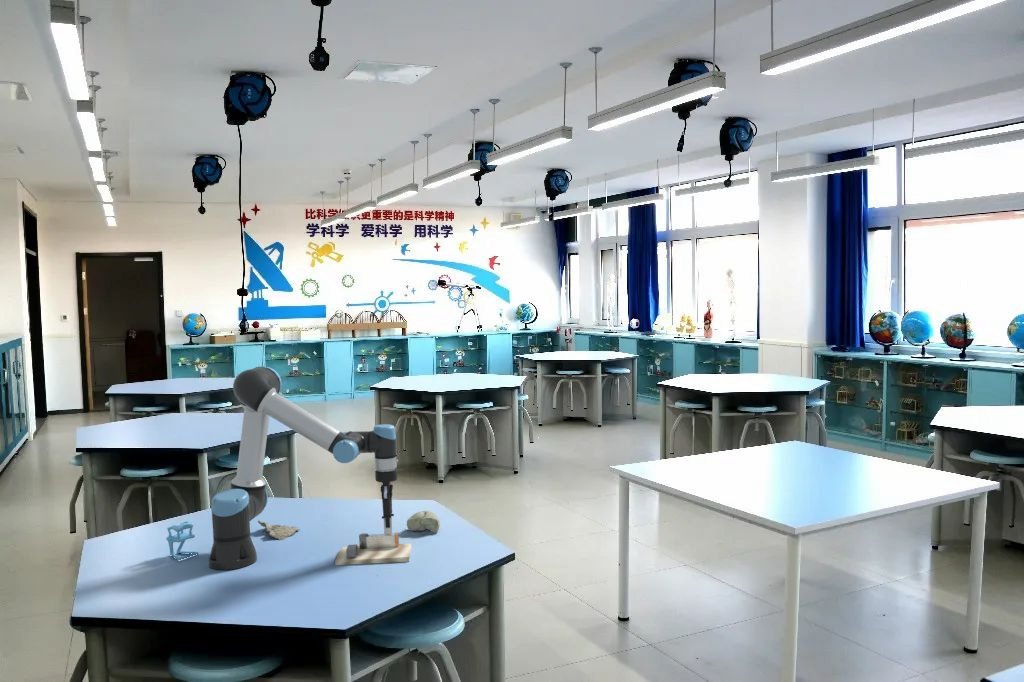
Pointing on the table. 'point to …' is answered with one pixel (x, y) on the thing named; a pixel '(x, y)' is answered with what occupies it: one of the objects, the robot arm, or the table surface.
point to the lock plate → (376, 555)
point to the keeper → (351, 551)
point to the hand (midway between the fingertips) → (388, 535)
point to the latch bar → (378, 540)
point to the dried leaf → (279, 530)
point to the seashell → (423, 521)
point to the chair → (180, 539)
